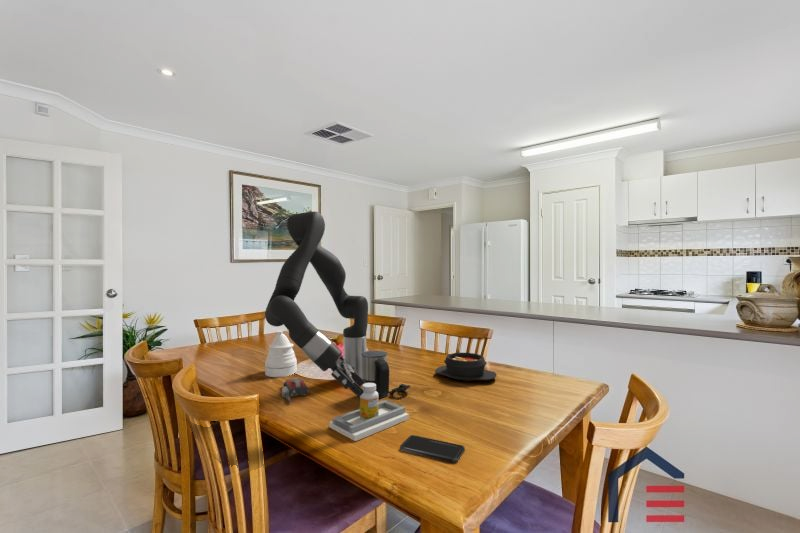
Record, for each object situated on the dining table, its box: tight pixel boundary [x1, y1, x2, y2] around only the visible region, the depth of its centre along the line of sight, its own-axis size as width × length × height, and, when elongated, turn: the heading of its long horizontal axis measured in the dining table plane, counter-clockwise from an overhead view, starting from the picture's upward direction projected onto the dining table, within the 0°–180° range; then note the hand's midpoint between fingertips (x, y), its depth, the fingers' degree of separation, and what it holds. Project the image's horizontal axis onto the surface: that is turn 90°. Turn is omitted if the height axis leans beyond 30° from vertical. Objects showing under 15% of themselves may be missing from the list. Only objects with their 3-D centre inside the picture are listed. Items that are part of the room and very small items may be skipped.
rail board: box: [328, 399, 410, 442], centre depth 111 cm, size 20×12×3 cm, turn 134°
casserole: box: [434, 352, 498, 382], centre depth 155 cm, size 25×19×8 cm
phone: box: [399, 434, 466, 464], centre depth 96 cm, size 8×1×15 cm
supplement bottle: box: [359, 383, 380, 421], centre depth 111 cm, size 5×5×10 cm
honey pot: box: [264, 330, 298, 378], centre depth 163 cm, size 13×13×18 cm
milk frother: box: [361, 350, 411, 399], centre depth 136 cm, size 14×16×15 cm
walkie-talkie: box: [281, 377, 309, 403], centre depth 136 cm, size 9×4×20 cm
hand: (361, 389), depth 111 cm, fingers open, 8 cm apart
